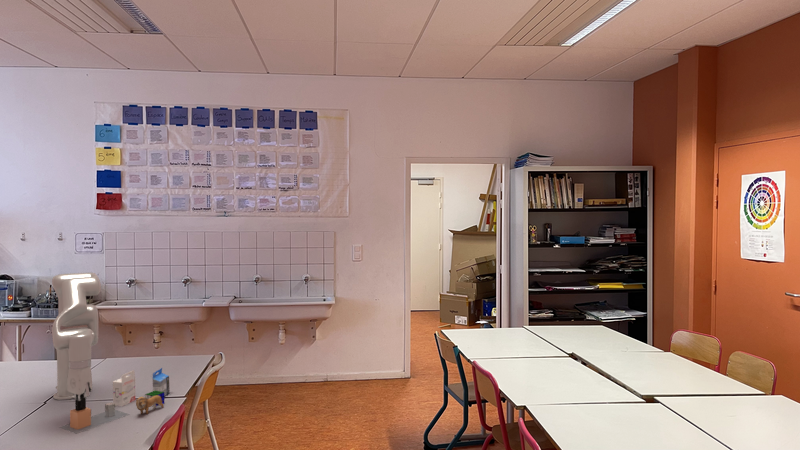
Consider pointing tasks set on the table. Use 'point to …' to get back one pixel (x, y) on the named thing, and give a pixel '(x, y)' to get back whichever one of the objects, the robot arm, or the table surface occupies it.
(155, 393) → the puzzle toy
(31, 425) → the table surface
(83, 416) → the orange wooden cube
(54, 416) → the table surface
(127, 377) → the ink cartridge box
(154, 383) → the label tape box
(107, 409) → the post
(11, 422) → the table surface
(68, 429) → the board
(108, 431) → the table surface
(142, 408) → the lion figurine
